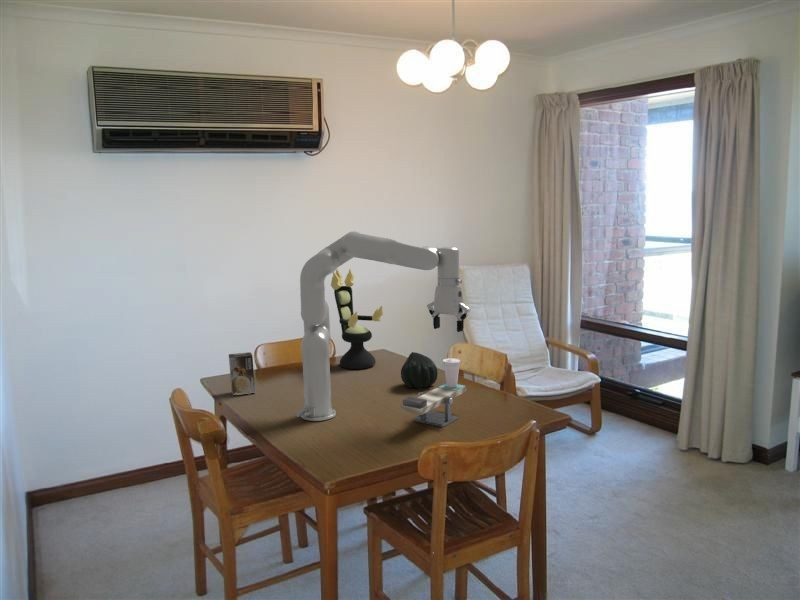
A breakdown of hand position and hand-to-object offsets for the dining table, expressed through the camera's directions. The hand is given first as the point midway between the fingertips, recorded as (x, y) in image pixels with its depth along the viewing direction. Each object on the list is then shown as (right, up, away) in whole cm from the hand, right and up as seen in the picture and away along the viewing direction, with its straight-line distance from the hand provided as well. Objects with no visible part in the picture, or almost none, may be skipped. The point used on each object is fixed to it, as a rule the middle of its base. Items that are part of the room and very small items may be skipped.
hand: (448, 329), depth 237 cm
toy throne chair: (-39, -20, +73) cm, 85 cm away
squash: (-9, -25, +37) cm, 46 cm away
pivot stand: (-5, -32, -4) cm, 32 cm away
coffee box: (-81, -27, +32) cm, 91 cm away
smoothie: (+2, -21, +4) cm, 21 cm away
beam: (-5, -24, -5) cm, 25 cm away
